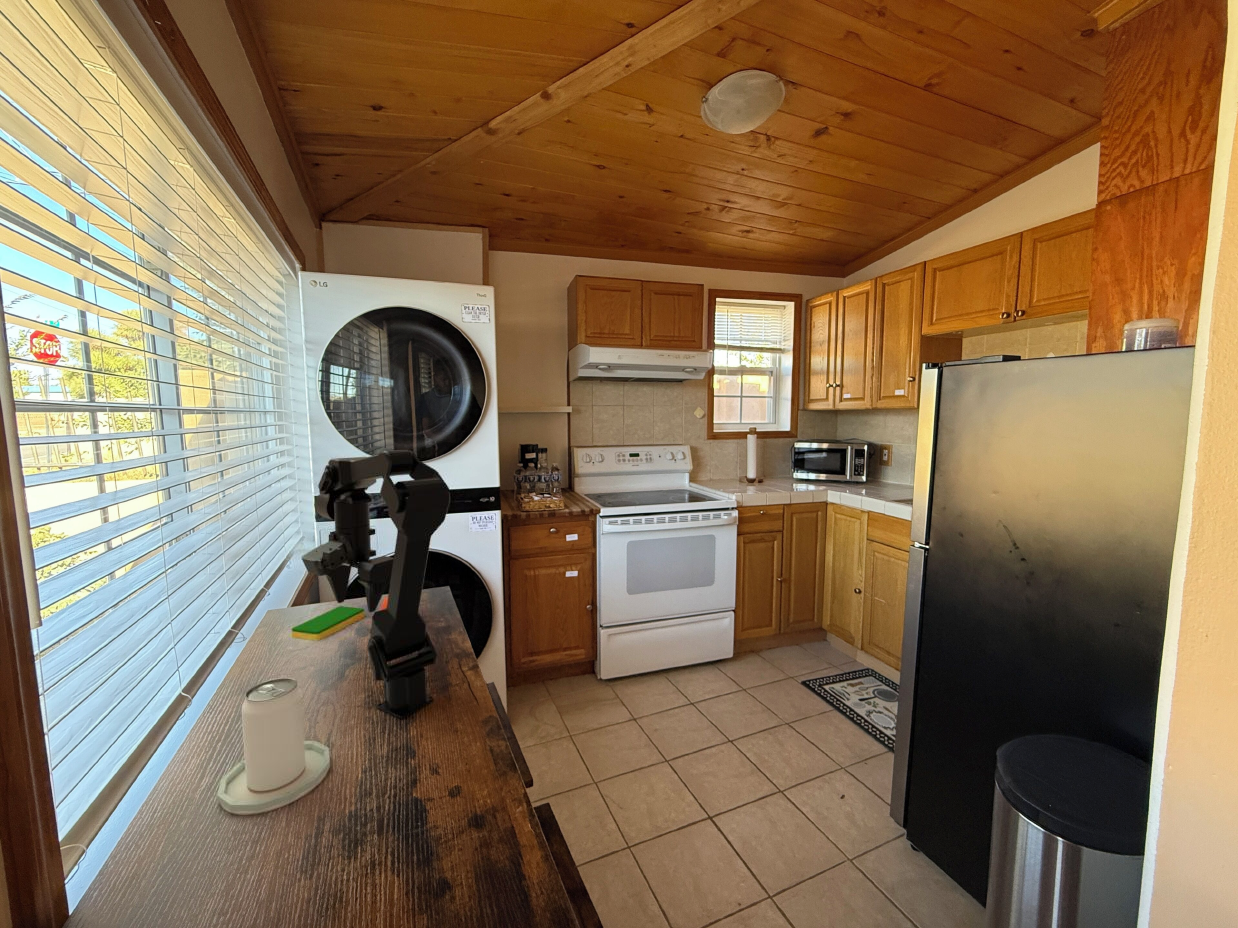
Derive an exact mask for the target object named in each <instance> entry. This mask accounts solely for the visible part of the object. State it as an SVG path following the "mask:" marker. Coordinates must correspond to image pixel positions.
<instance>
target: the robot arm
mask: <svg viewBox="0 0 1238 928" xmlns="http://www.w3.org/2000/svg"><path fill="white" fill-rule="evenodd" d="M406 475H407V476H408V475H409V477H410V480H401V481H397V482H395V483H394V481H393V480H392V478H391V477H395V476H396V477H397V476H406ZM378 479H383V480H382V485H381V488H380V491H379V492H380V493H379V495H381V498H382V500H383V501H384V503H385V504H386V506H387V508H388V516H389V517H390V520H391V521H392V523H393V525H394V526H395V527H396V530H397V533H396V534H397V535H396V541H395V545H394V546H395V548H394V552H393V554H394V555H393V557H391V556H387V555H381V556H377V550H376V549H371V548H372V547H371V546H372V545H371V544H372V543H371V536H375V535H376V529H375V528H371V522H370V520H371V518H370V503H372V502H373V498H372V496H370V495H369V494H368V493H367V492H366V491H367V490H368V489H369V488H370V487H372V486H373V485H375V484H376V483H377V480H378ZM411 479H412V480H411ZM317 487H318V489H319V494H318V495H317V497H316V499H315V501H314V509H315V511H316V513H317V514H319V515H320V516H322V518H323V517H324V518H325V519H326V518H327V519H328V520H333V521H334V530H333V531H330V532H329V534H328V541H327V542H325V543H322V544H320V545H318V546H317V547H315V548H313V549H311V550H310V551H308V552H307V553H305V554H303V555H302V556H301V560H302V563H303V564H304V566H305V569H306V571H307V574H313V575H316V576H318V577H323V576H325V578H326V579H327V581H328V583H329V586H330V588H331V591H332V593H333V596H334V598H335V599H336V602H337V603H338V604H342V603H344V602H345V600H346V596H347V593H348V592H347V591H348V587H349V586H348V585H349V581H350V576H351V570H352V568H355V569H357V575H358V576H359V578H358V579H357V581H358V583H360V584H361V585H362V586H364V591H365V598H366V599H365V600H366V606H367V610H368V613H373V612H374V613H373V615H372V616H371V627H370V629H369V634H370V636H369V639H368V641H367V653H368V658H369V663H370V667H371V670H372V674H373V680H374V681H376V682H377V681H378V682H379V681H381V682H383V694H384V695H383V696H384V700H382V701H381V702H380V703H378V704H377V705H376V709H377V710H380V711H382V712H385V713H387V714H389V715H392V716H394V717H396V718H399V719H406V718H408V717H409V716H410V715H412V714H414V713H416V712H417V711H419V710H420V709H422V708H423V707H425V706H427V705H428V704H430V703H432V702H433V701H434V700H435V696H433V695H431V694H428V693H427V681H426V679H427V678H426V667H428V666H431V665H435V664H436V662H437V651H436V649H435V647H434V645H433V642H432V639H431V637H430V636H429V633H428V631H427V623H426V622H425V621H424V619H423V617H422V616H421V614H420V606H421V599H422V594H423V593H422V592H423V587H424V582H425V581H424V580H425V575H426V569H427V563H428V556H429V552H430V550H429V549H430V545H431V538H432V536H433V534H434V533H435V532H436V531H437V530H438V529H439V528H440V526H442V524H443V523H444V522H445V520H446V516H447V514H448V510H449V507H450V503H451V500H452V494H451V489H450V488H449V486H448V484H447V483H446V481H445V480H444V479H443V477H442V476H441V475H440V473H439V471H437V470H436V469H434V468H433V467H431V466H429V465H428V464H426V463H425V462H423V461H421V460H420V459H419V458H418V456H417V455H416V453H415V452H414V451H412V450H409V449H397V450H384V451H382V452H379V453H378V454H374V455H370V456H359V457H358V456H357V457H340V458H339V457H337V458H331V459H330V460H329V461H328V463H327V464H326V465H325V468H324V470H323V473H322V476H321V478H320V480H319V483H318V486H317ZM376 556H377V557H376ZM372 557H373V558H372ZM370 558H371V559H370ZM388 585H389V589H388V596H387V597H388V602H387V607H386V609H384V610H381V609H380V610H377V608H378V605H379V603H380V601H381V600H382V598H383V594H384V593H385V592H386V591H385V590H386V589H387V587H388ZM376 610H377V611H376ZM413 653H415V654H413ZM411 654H413V655H411ZM405 656H406V657H405ZM407 656H408V657H407ZM403 657H405V658H403ZM400 658H401V659H400ZM398 659H399V660H398ZM394 660H396V661H394ZM391 661H392V662H391ZM389 662H391V663H389Z"/></svg>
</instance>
